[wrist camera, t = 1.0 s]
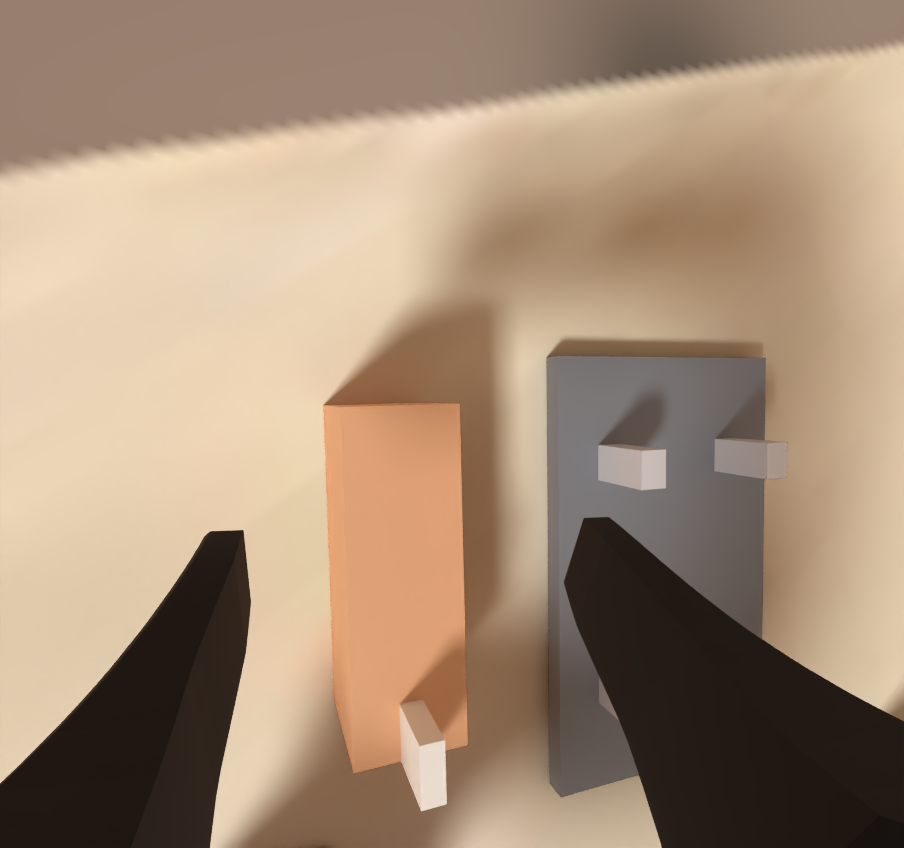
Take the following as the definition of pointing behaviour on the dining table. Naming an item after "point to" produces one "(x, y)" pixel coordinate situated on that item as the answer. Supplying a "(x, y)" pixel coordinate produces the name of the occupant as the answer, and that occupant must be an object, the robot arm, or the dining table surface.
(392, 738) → the long tan brick
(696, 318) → the dining table surface
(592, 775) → the grey pegged plate
